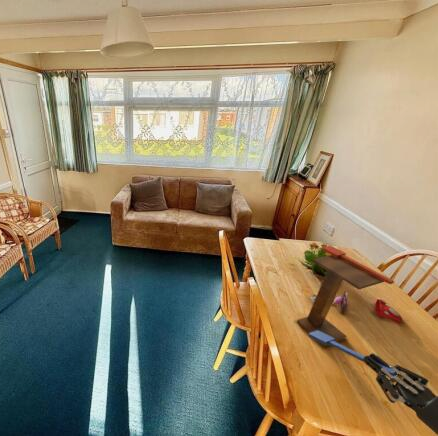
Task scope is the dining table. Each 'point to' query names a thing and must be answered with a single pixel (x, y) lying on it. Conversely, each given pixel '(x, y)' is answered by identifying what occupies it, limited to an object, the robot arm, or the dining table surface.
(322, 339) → the blue paddle stick
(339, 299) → the pink toy figure
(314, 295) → the grey flat lumpy piece
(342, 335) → the shelf stand
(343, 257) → the red spatula
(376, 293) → the dining table surface
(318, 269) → the potted flower
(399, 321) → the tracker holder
